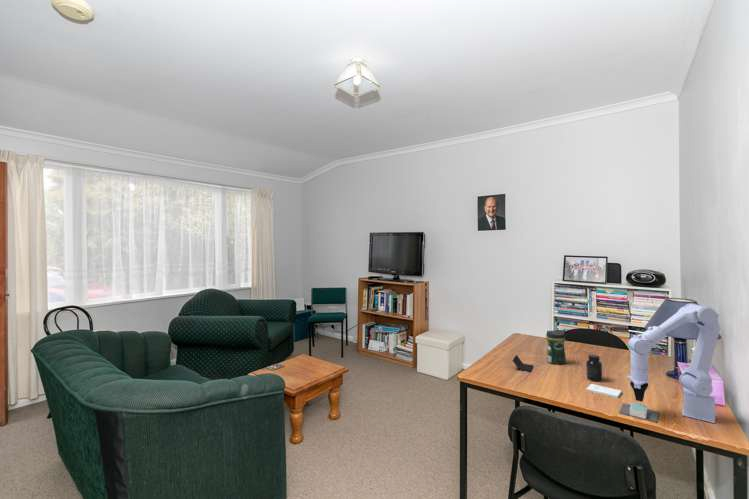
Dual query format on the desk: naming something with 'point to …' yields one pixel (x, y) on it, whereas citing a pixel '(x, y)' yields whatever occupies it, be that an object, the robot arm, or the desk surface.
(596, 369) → the supplement bottle
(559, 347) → the coffee jar
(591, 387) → the external hard drive
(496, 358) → the desk surface
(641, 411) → the slab
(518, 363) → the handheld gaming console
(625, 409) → the mat
